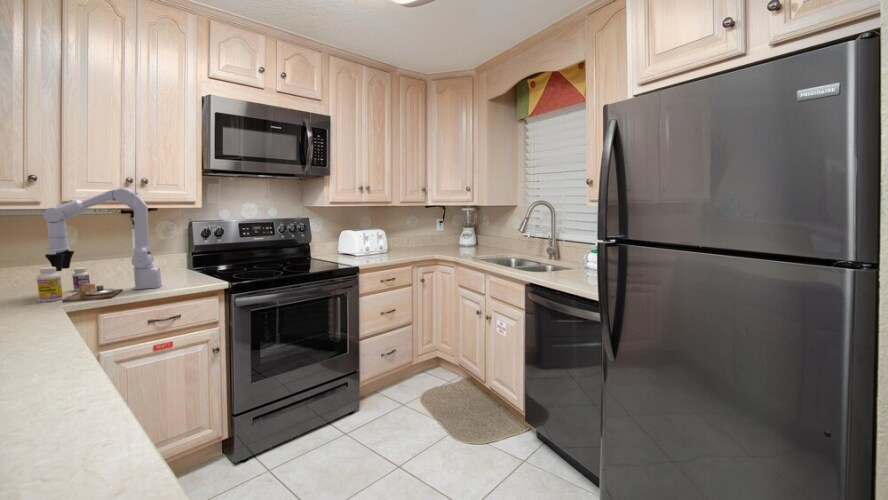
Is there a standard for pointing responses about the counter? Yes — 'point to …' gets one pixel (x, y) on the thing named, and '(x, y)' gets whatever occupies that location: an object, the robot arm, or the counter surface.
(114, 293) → the brown piece
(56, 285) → the supplement bottle
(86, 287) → the pot lid
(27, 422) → the counter surface
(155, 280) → the robot arm
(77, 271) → the pill bottle
